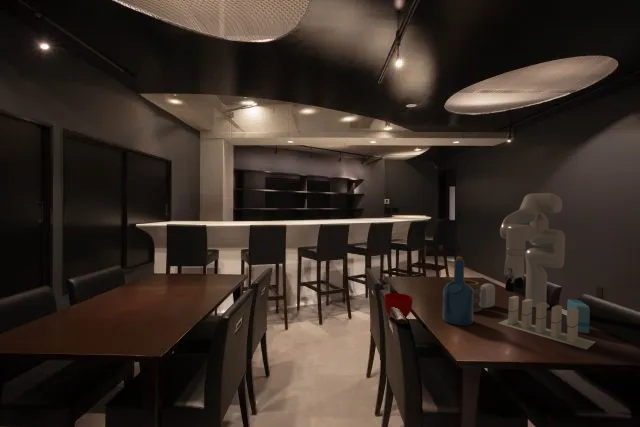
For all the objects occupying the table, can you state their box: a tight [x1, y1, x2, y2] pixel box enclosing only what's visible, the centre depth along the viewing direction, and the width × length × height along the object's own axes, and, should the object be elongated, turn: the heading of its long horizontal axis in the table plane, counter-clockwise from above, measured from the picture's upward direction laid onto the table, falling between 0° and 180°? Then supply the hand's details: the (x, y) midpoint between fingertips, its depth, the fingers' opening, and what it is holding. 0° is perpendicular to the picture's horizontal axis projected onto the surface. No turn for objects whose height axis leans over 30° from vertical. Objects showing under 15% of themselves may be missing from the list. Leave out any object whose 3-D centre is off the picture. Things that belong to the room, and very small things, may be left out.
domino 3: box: [535, 302, 548, 333], centre depth 136 cm, size 6×2×12 cm, turn 126°
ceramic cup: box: [383, 292, 414, 318], centre depth 152 cm, size 13×17×10 cm
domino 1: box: [507, 295, 520, 325], centre depth 145 cm, size 6×2×12 cm, turn 127°
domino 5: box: [566, 309, 579, 343], centre depth 127 cm, size 6×2×12 cm, turn 126°
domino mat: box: [497, 318, 596, 350], centre depth 135 cm, size 12×32×1 cm, turn 36°
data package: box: [566, 298, 591, 335], centre depth 140 cm, size 12×4×12 cm, turn 158°
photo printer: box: [479, 283, 496, 309], centre depth 171 cm, size 10×4×12 cm, turn 123°
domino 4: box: [550, 304, 563, 338], centre depth 132 cm, size 6×2×12 cm, turn 126°
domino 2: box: [520, 298, 533, 329], centre depth 140 cm, size 6×2×12 cm, turn 126°
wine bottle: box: [441, 256, 475, 327], centre depth 146 cm, size 14×13×30 cm
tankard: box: [443, 275, 483, 313], centre depth 170 cm, size 20×13×15 cm, turn 35°
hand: (514, 289), depth 145 cm, fingers open, 9 cm apart
